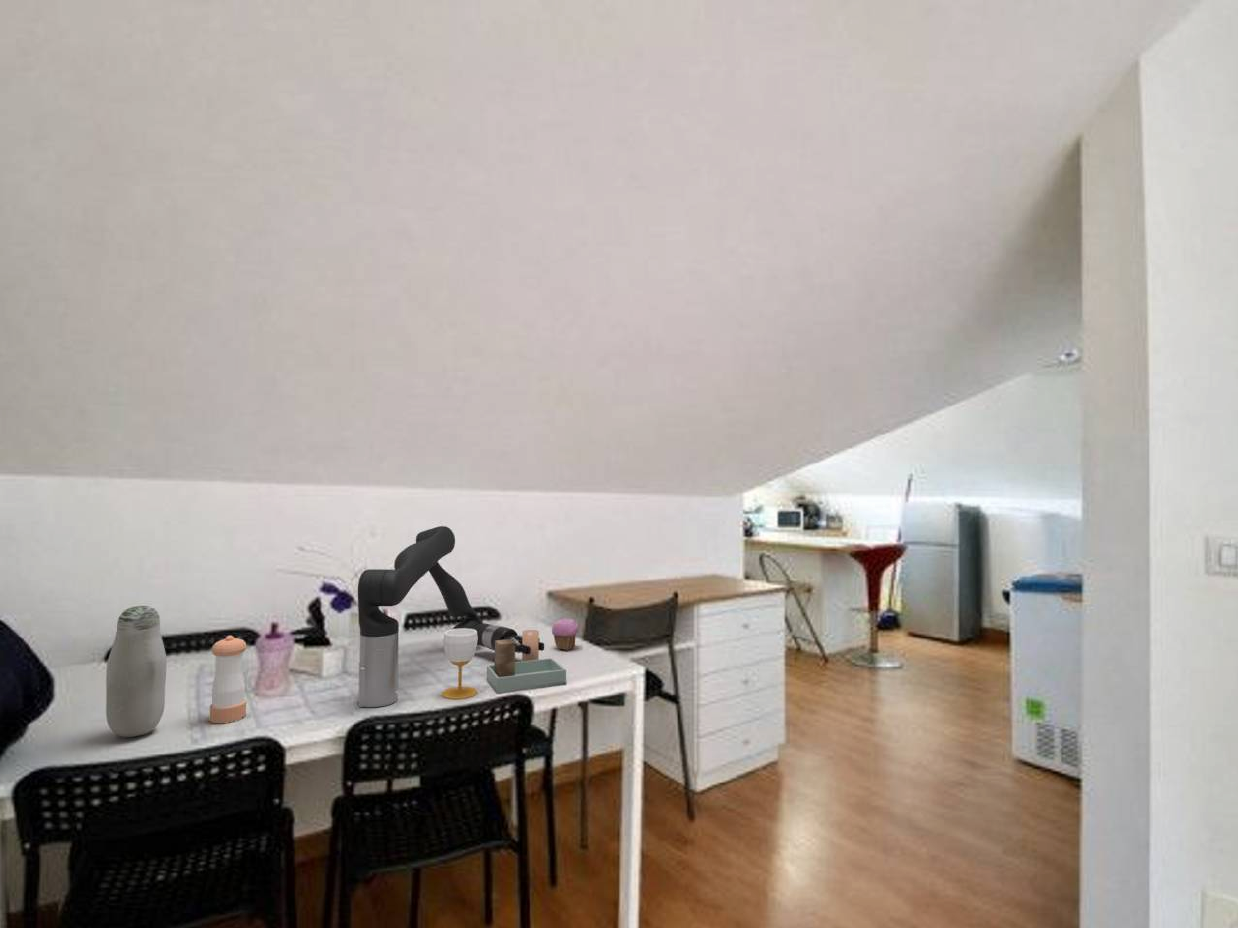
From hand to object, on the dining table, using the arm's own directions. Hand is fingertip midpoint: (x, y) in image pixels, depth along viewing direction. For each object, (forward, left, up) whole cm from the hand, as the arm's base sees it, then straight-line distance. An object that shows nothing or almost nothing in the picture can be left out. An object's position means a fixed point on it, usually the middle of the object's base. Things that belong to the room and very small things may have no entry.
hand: (536, 648), depth 188 cm
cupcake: (+16, +19, -7) cm, 26 cm away
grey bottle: (-94, -10, -7) cm, 95 cm away
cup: (-24, -11, -7) cm, 27 cm away
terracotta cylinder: (-1, +2, -7) cm, 7 cm away
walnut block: (-12, -9, -6) cm, 16 cm away
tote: (-6, -9, -7) cm, 12 cm away
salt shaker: (-77, -7, -7) cm, 78 cm away
